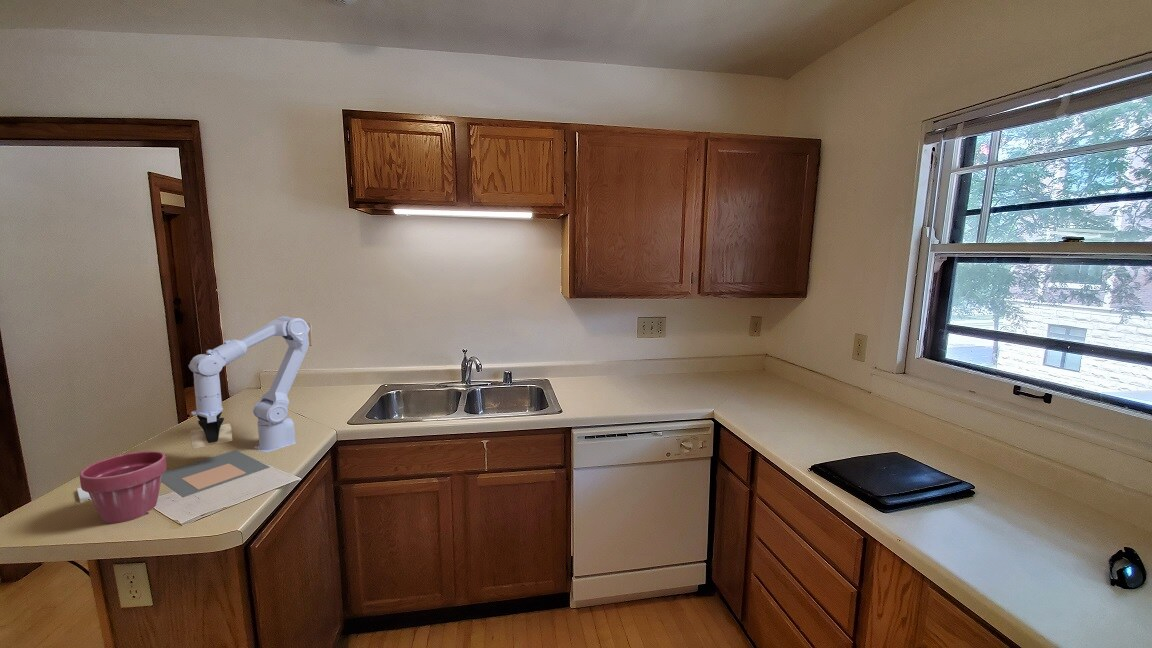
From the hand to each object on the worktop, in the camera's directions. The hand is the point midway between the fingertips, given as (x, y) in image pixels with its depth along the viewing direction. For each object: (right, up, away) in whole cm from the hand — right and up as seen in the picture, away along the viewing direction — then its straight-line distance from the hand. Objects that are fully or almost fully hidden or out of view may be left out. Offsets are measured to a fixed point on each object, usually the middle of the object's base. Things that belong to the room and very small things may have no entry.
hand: (212, 439), depth 126 cm
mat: (+3, -9, -3) cm, 10 cm away
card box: (0, -1, 0) cm, 1 cm away
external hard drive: (-16, -11, -12) cm, 23 cm away
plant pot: (0, -12, -23) cm, 26 cm away
